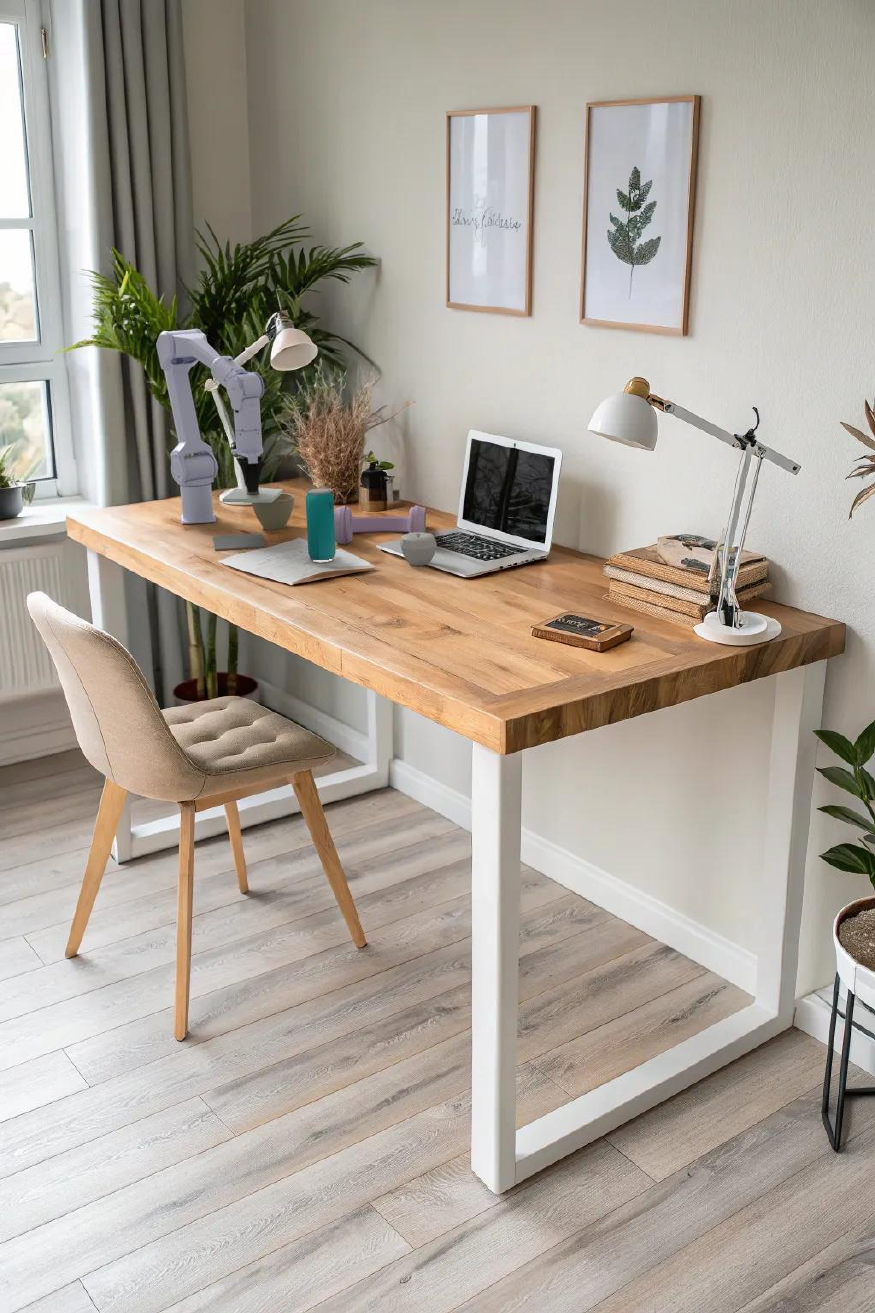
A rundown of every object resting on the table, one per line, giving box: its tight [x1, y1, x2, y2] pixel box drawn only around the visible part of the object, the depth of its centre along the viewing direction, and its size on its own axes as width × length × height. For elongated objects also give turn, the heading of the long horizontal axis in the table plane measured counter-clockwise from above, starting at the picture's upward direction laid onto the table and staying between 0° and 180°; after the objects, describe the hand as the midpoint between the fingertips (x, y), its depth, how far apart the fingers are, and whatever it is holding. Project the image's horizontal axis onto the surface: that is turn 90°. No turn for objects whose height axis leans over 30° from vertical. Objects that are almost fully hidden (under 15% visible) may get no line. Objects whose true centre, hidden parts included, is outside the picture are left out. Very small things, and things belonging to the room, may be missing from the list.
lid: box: [221, 486, 284, 504], centre depth 279 cm, size 11×11×5 cm
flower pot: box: [251, 492, 295, 530], centre depth 290 cm, size 10×10×7 cm
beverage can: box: [305, 486, 337, 560], centre depth 259 cm, size 6×6×15 cm
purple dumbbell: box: [334, 505, 427, 545], centre depth 280 cm, size 20×10×20 cm
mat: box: [212, 532, 267, 552], centre depth 277 cm, size 12×11×1 cm
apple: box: [399, 532, 438, 567], centre depth 257 cm, size 8×8×7 cm
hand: (252, 490), depth 279 cm, fingers closed on lid, 3 cm apart
